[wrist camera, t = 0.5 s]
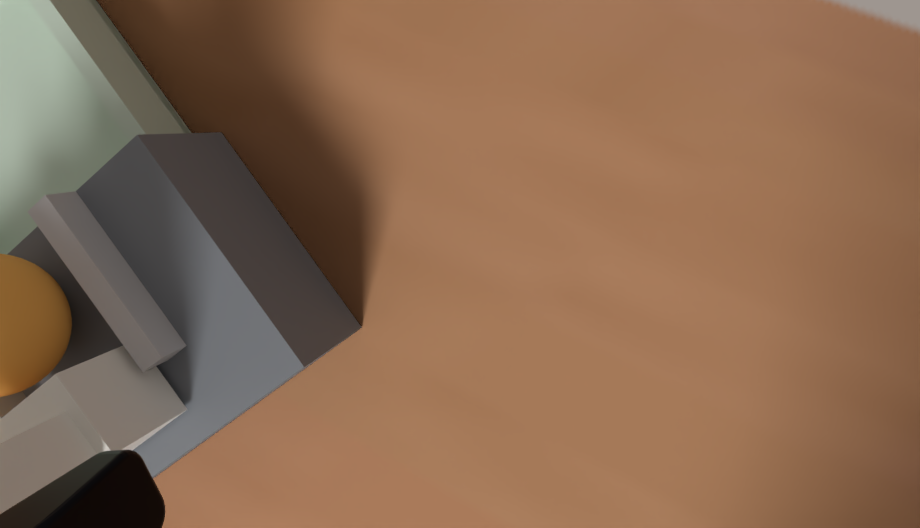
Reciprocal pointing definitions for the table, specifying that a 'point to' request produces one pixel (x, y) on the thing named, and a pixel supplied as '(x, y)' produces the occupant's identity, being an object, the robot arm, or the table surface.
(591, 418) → the table surface
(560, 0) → the table surface
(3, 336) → the ball
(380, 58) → the table surface
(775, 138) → the table surface
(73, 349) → the launcher deck
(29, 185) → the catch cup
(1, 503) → the beige upright block
